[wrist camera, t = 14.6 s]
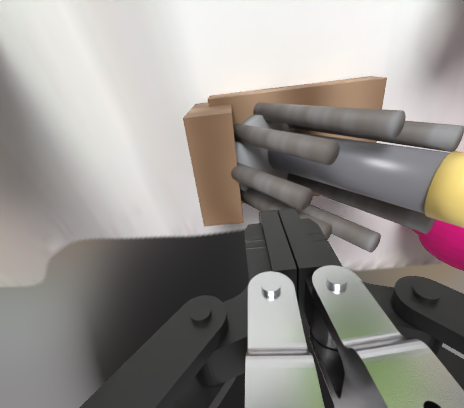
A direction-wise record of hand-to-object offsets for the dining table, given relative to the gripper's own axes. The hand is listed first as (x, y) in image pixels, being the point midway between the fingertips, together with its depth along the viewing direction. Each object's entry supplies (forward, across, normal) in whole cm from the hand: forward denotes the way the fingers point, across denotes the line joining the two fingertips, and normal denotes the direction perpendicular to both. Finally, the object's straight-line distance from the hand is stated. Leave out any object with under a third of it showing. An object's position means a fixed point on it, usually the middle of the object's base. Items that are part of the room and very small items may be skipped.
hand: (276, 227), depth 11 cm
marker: (+10, -2, 0) cm, 11 cm away
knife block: (+14, -3, 0) cm, 14 cm away
